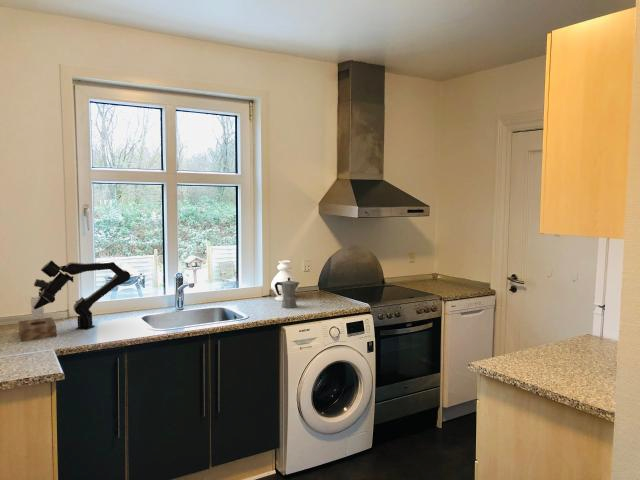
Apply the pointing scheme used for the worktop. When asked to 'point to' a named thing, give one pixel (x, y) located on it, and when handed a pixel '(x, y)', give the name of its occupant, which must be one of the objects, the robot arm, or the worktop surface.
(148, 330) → the worktop surface
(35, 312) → the aluminium bar
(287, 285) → the coffeepot
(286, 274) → the decorative vase
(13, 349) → the worktop surface
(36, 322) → the walnut pocket block
